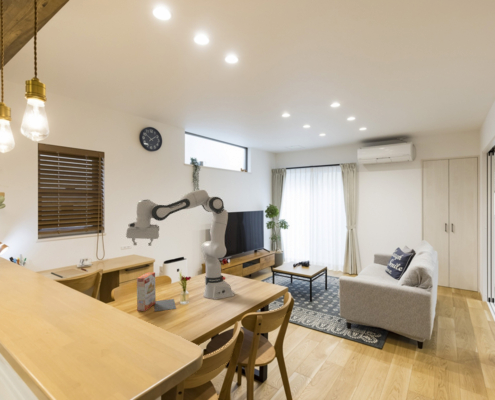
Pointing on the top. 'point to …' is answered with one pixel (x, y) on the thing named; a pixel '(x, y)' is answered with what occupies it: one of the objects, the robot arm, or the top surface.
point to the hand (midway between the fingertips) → (142, 245)
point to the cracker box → (146, 291)
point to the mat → (164, 305)
